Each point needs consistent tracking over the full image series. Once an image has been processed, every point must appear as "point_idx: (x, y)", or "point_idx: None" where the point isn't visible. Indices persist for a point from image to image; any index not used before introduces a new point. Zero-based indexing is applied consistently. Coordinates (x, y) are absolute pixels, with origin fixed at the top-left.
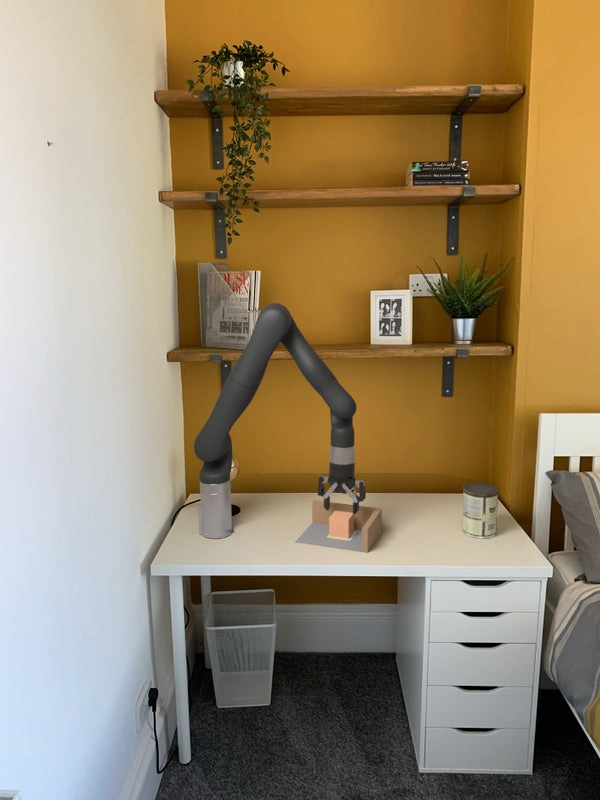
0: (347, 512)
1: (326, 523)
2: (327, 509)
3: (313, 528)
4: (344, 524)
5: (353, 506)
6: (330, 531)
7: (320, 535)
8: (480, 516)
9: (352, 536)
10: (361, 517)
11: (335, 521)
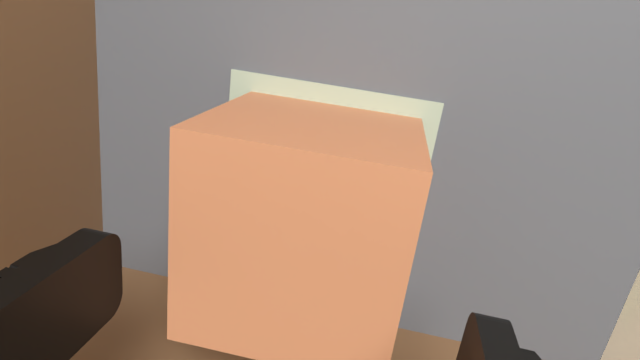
0: (235, 344)
1: None
2: (477, 317)
3: (580, 268)
4: (244, 123)
5: (25, 284)
6: (410, 126)
7: (504, 133)
8: None
9: None
10: (150, 343)
11: (347, 145)
